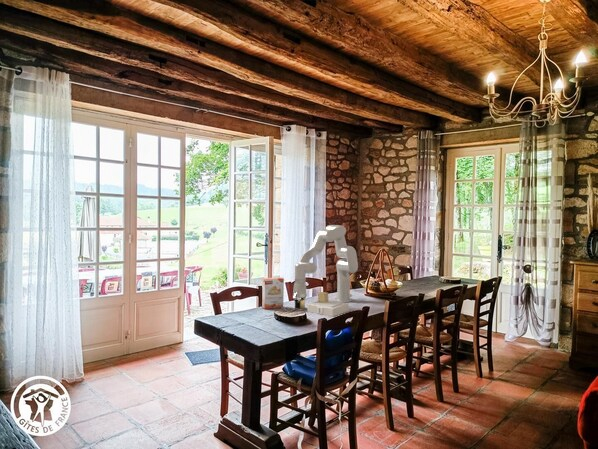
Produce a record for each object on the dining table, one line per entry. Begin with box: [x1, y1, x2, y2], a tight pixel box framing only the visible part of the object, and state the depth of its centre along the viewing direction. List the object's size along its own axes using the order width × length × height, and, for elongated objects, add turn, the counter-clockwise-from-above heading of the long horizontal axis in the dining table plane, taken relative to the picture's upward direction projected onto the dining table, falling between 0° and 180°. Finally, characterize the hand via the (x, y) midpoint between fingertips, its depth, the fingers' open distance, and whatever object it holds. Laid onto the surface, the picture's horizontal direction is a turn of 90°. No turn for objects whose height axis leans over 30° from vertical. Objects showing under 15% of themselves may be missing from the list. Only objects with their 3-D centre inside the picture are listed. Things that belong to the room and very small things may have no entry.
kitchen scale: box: [306, 299, 350, 317], centre depth 276 cm, size 21×20×6 cm
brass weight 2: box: [317, 291, 329, 303], centre depth 278 cm, size 5×5×6 cm
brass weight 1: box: [296, 298, 306, 310], centre depth 284 cm, size 5×5×6 cm
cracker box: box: [261, 276, 285, 310], centre depth 285 cm, size 14×6×21 cm, turn 112°
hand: (299, 307), depth 284 cm, fingers closed on brass weight 1, 5 cm apart
